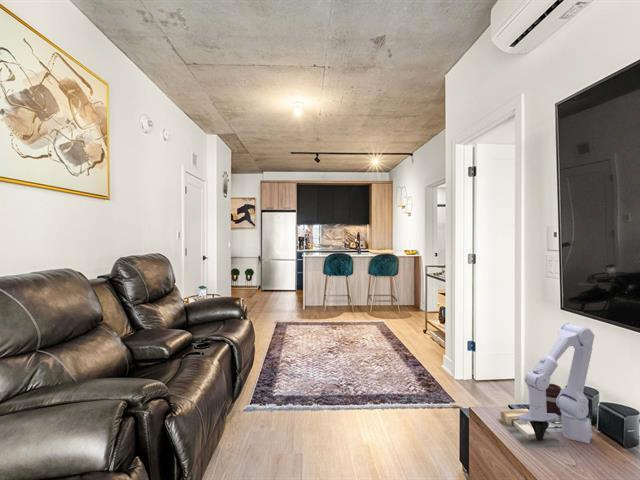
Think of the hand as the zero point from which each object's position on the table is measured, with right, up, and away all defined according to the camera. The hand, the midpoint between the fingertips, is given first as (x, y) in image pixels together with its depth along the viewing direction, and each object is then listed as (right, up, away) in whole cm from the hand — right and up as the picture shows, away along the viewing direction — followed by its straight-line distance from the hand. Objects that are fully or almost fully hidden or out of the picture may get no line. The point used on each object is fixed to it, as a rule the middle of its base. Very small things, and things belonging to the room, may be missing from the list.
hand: (539, 439), depth 142 cm
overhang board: (0, -2, +7) cm, 8 cm away
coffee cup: (+16, -1, +16) cm, 23 cm away
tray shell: (0, -1, +7) cm, 7 cm away
